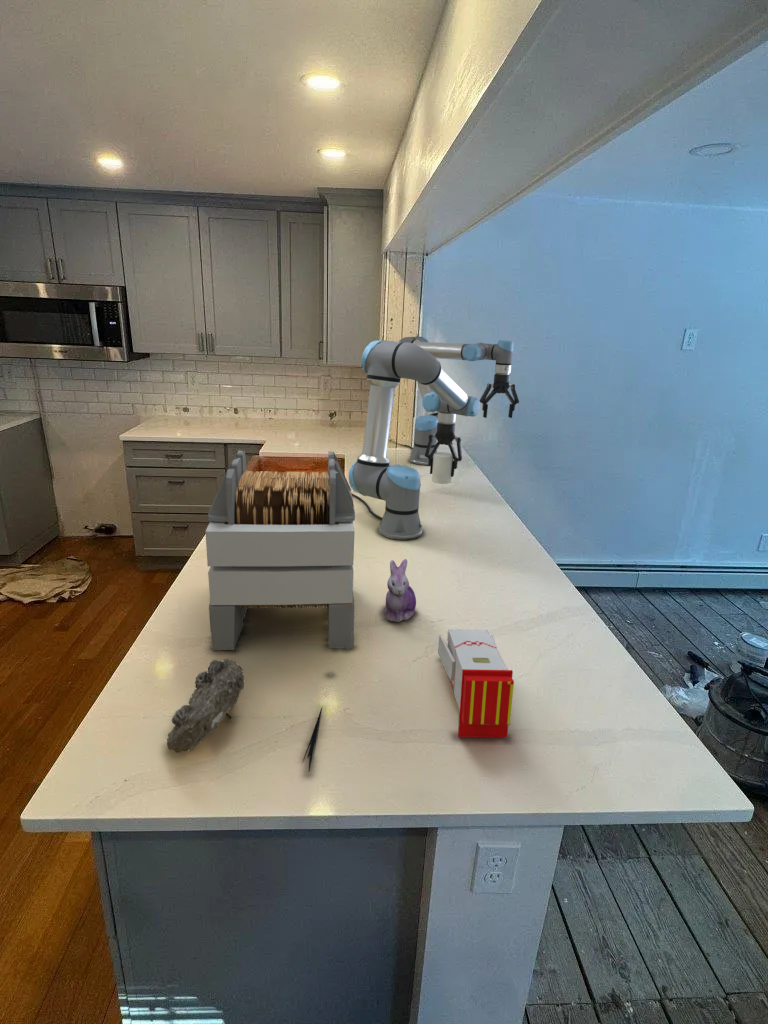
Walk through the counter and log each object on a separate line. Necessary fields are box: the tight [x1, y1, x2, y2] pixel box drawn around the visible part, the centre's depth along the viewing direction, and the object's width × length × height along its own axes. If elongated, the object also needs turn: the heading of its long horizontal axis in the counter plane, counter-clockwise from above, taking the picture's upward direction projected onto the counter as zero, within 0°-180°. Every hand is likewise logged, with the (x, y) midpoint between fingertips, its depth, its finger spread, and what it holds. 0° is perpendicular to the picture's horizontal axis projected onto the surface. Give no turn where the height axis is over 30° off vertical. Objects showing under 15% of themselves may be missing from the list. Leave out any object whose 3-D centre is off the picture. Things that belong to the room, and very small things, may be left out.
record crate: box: [204, 449, 356, 652], centre depth 138 cm, size 34×33×41 cm
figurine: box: [384, 558, 417, 623], centre depth 145 cm, size 9×10×15 cm
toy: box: [437, 628, 515, 738], centre depth 117 cm, size 12×13×30 cm
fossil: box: [166, 658, 245, 754], centre depth 106 cm, size 22×10×15 cm
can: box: [431, 451, 454, 485], centre depth 244 cm, size 8×8×12 cm
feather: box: [301, 673, 332, 771], centre depth 108 cm, size 2×28×2 cm
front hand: (441, 474), depth 245 cm, fingers closed on can, 9 cm apart
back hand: (497, 417), depth 282 cm, fingers open, 13 cm apart
